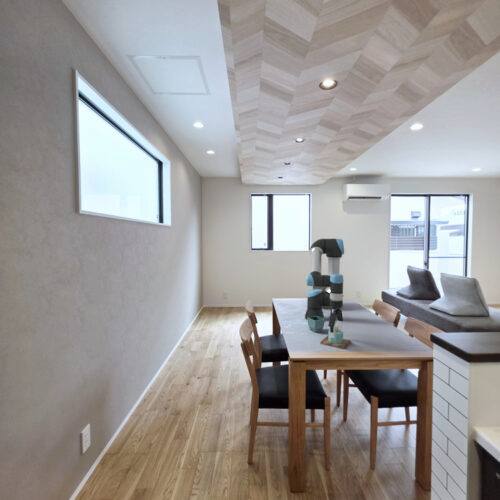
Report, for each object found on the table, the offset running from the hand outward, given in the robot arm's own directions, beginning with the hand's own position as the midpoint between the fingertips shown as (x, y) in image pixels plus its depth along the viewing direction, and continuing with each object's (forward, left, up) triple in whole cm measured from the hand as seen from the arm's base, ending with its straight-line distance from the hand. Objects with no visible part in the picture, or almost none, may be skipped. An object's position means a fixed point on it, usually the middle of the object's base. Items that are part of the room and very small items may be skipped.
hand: (335, 334), depth 164 cm
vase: (-34, +83, -5) cm, 90 cm away
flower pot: (-18, +14, -5) cm, 23 cm away
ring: (0, 0, -4) cm, 4 cm away
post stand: (0, 0, -5) cm, 5 cm away
